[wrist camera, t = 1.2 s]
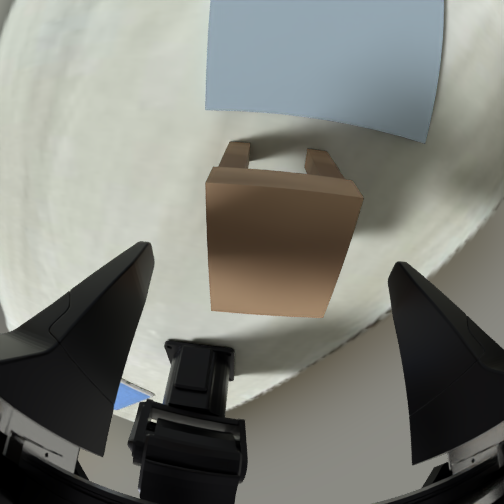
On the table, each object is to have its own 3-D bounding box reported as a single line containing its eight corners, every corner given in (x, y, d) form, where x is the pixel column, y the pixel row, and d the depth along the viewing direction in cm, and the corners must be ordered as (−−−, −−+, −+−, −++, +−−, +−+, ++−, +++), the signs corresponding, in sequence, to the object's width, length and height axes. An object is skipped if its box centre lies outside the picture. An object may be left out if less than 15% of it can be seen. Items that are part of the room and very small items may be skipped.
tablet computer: (79, 351, 29) (75, 359, 28) (156, 391, 34) (154, 398, 33) (64, 377, 39) (62, 383, 38) (119, 406, 44) (117, 411, 43)
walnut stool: (309, 244, 16) (323, 317, 12) (225, 237, 16) (211, 310, 12) (329, 147, 12) (363, 198, 8) (227, 137, 12) (205, 182, 8)
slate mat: (419, 140, 12) (425, 143, 11) (207, 108, 11) (205, 110, 11) (436, -29, 5) (442, -30, 4) (222, -76, 5) (220, -81, 4)
